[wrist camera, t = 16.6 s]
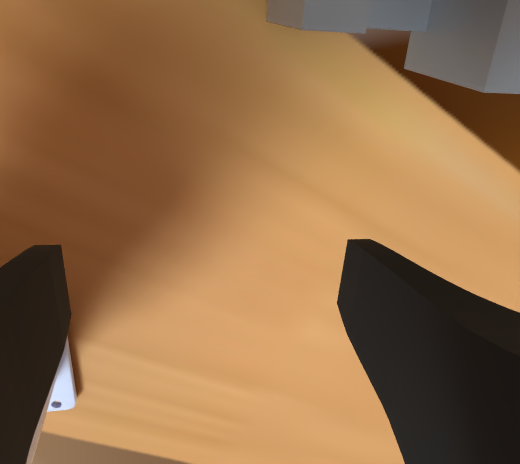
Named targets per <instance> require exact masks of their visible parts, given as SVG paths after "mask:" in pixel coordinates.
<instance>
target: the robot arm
mask: <svg viewBox="0 0 520 464" xmlns="http://www.w3.org/2000/svg"><path fill="white" fill-rule="evenodd" d="M337 305H338V308H339V311H340V314H341V318H342V321H343V324H344V327H345V329H346V332H347V335H348V337H349V339H350V341H351V343H352V345H353V347H354V349H355V352H356V354H357V356H358V358H359V360H360V362H361V364H362V366H363V368H364V369H365V371H366V373H367V375H368V377H369V379H370V381H371V383H372V385H373V387H374V389H375V391H376V393H377V395H378V397H379V399H380V401H381V403H382V405H383V408H384V410H385V412H386V414H387V417H388V419H389V421H390V424H391V427H392V429H393V432H394V435H395V437H396V440H397V443H398V446H399V448H400V451H401V454H402V456H403V459H404V462H405V464H520V313H519V312H516V311H513V310H511V309H508V308H506V307H503V306H501V305H498V304H496V303H494V302H491V301H489V300H486V299H484V298H482V297H479V296H477V295H475V294H473V293H471V292H469V291H466V290H464V289H462V288H460V287H458V286H456V285H454V284H452V283H450V282H448V281H446V280H445V279H443V278H441V277H439V276H437V275H435V274H433V273H432V272H430V271H428V270H426V269H424V268H423V267H421V266H419V265H417V264H415V263H414V262H412V261H410V260H408V259H407V258H405V257H403V256H401V255H400V254H398V253H396V252H394V251H393V250H391V249H389V248H387V247H385V246H384V245H382V244H380V243H378V242H375V241H373V240H371V239H350V240H348V241H347V247H346V253H345V259H344V265H343V271H342V277H341V283H340V288H339V294H338V300H337ZM70 318H71V309H70V303H69V296H68V289H67V283H66V276H65V269H64V263H63V256H62V249H61V245H34V246H32V247H30V248H28V249H27V250H25V251H24V252H22V253H21V254H19V255H18V256H16V257H15V258H13V259H12V260H11V261H9V262H8V263H6V264H5V265H3V266H2V267H1V268H0V464H32V461H33V457H34V454H35V450H36V447H37V444H38V440H39V437H40V433H41V430H42V427H43V423H44V420H45V416H46V413H47V411H58V410H68V409H72V408H73V407H74V406H75V405H76V401H77V395H76V388H75V382H74V375H73V368H72V362H71V355H70V349H69V342H68V335H67V334H68V329H69V324H70ZM55 401H59V403H58V402H55Z"/></svg>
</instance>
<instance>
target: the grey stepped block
mask: <svg viewBox="0 0 520 464" xmlns="http://www.w3.org/2000/svg"><path fill="white" fill-rule="evenodd" d="M266 21H267V22H271V23H276V24H280V25H284V26H288V27H292V28H296V29H300V30H312V31H329V32H346V33H363V34H365V33H366V28H370V29H387V30H403V31H411V34H410V40H409V45H408V50H407V55H406V61H405V66H404V69H408V70H411V71H414V72H417V73H421V74H424V75H428V76H431V77H434V78H437V79H441V80H444V81H447V82H451V83H454V84H457V85H461V86H464V87H467V88H470V89H474V90H477V91H480V92H486V93H513V94H520V0H268V2H267V19H266Z"/></svg>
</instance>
